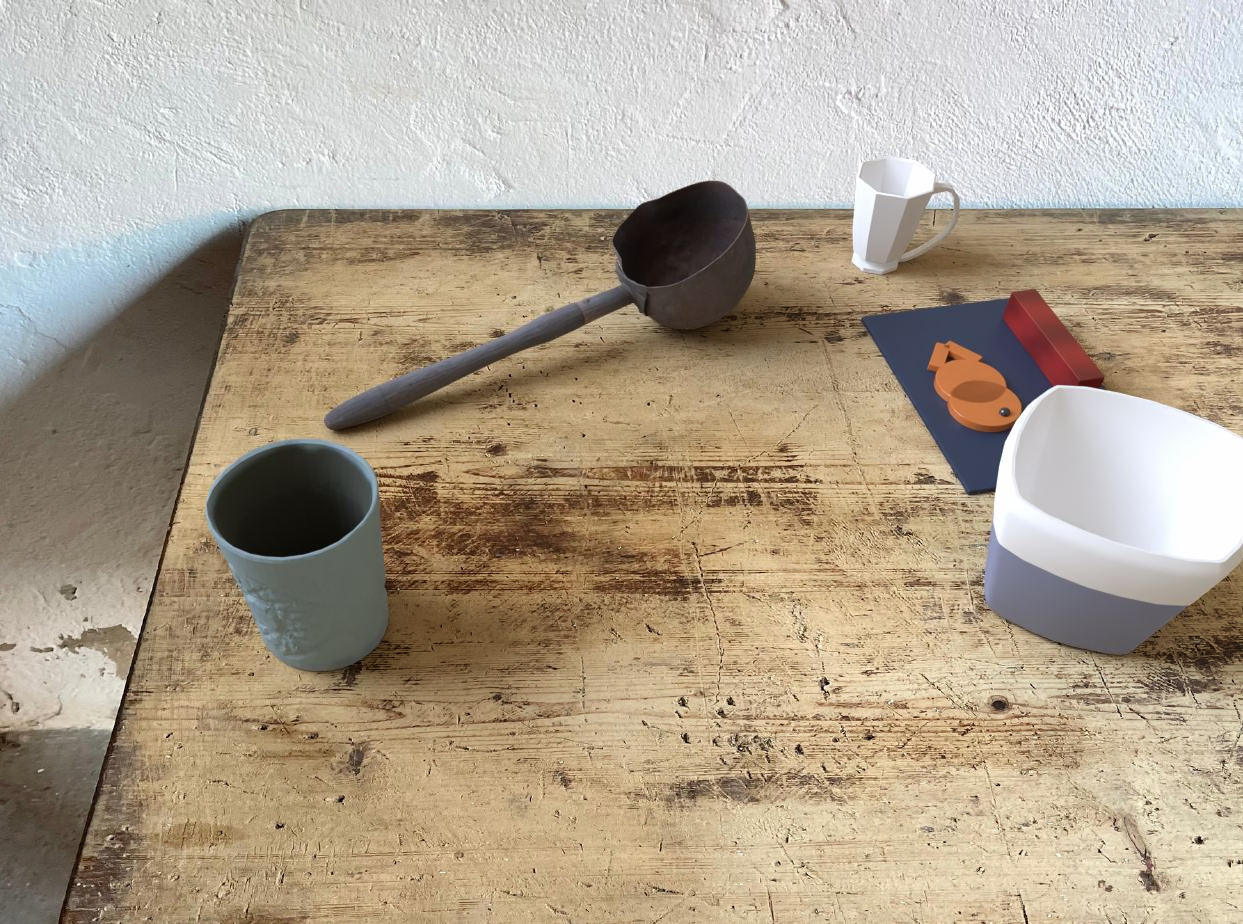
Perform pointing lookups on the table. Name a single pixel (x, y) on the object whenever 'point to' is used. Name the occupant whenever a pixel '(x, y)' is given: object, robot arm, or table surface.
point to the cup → (893, 212)
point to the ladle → (616, 289)
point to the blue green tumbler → (305, 549)
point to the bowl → (1111, 517)
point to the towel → (970, 326)
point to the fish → (973, 389)
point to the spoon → (1050, 341)
